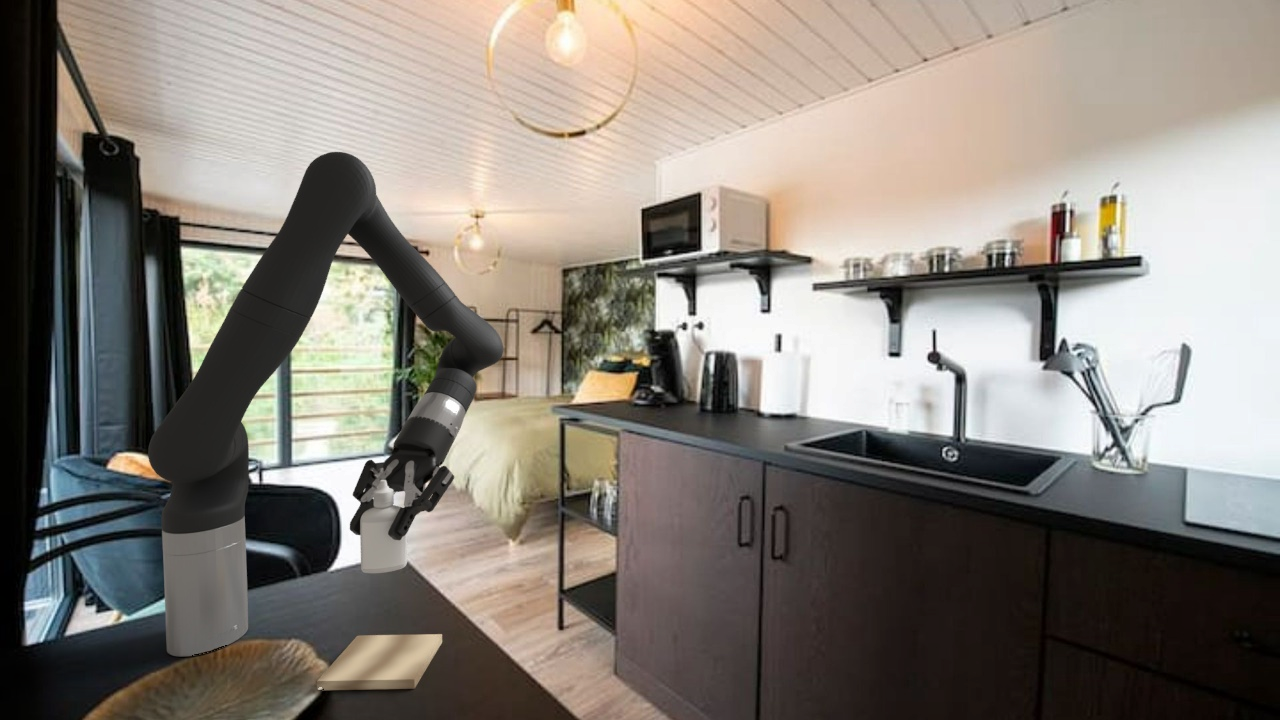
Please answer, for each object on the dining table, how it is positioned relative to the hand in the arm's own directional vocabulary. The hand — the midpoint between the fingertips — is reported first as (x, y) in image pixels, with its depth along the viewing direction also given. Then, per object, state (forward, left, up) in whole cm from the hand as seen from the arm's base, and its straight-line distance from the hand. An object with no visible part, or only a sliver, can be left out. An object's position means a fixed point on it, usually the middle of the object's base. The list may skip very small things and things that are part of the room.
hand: (374, 534), depth 69 cm
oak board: (0, +1, -18) cm, 18 cm away
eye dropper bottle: (-1, +2, -5) cm, 6 cm away
